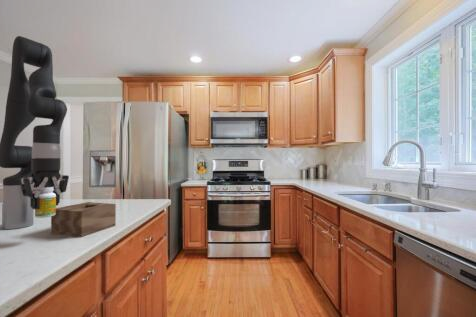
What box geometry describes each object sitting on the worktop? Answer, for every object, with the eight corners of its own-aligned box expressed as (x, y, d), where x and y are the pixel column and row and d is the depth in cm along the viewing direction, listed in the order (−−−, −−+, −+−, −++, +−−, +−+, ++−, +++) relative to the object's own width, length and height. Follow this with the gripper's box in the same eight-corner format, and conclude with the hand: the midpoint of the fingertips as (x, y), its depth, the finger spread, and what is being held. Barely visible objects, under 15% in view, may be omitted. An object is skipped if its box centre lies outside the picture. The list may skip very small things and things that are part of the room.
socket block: (51, 233, 86) (51, 209, 86) (87, 222, 101) (88, 202, 101) (81, 237, 82) (81, 211, 82) (115, 225, 96) (115, 203, 96)
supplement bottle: (43, 218, 75) (44, 188, 75) (30, 217, 76) (31, 187, 76) (59, 214, 80) (60, 186, 80) (47, 213, 81) (47, 185, 81)
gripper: (60, 157, 86) (59, 202, 86) (12, 156, 72) (12, 210, 72) (75, 157, 84) (74, 204, 84) (29, 156, 70) (28, 212, 70)
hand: (45, 206), depth 78 cm, fingers closed on supplement bottle, 5 cm apart
